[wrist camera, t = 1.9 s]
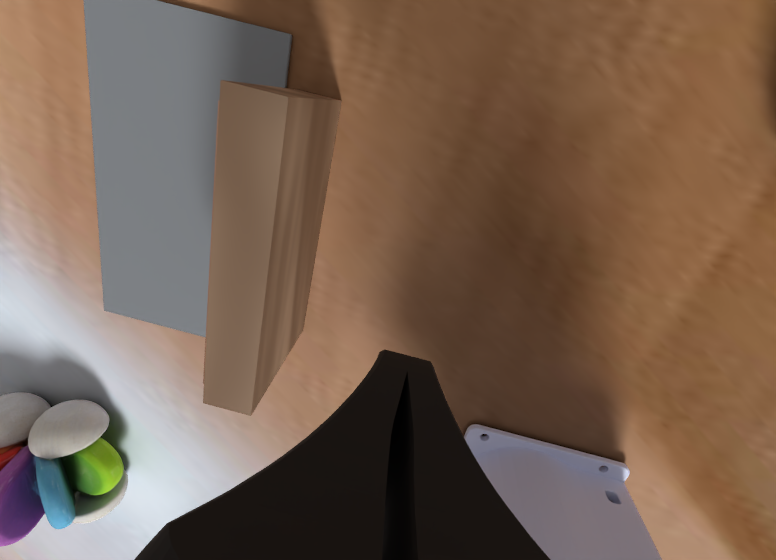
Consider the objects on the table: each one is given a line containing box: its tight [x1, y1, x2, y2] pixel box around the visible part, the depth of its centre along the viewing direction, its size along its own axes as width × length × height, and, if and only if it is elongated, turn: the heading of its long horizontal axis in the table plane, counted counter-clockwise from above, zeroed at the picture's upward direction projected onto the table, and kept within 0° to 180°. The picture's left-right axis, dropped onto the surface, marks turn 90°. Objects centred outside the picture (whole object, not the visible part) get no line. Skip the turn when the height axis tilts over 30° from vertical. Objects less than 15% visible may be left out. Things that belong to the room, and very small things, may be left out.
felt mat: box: [84, 0, 292, 337], centre depth 20 cm, size 9×16×1 cm, turn 167°
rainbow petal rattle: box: [0, 392, 128, 546], centre depth 25 cm, size 8×10×7 cm
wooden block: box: [203, 80, 342, 416], centre depth 17 cm, size 2×12×7 cm, turn 167°
